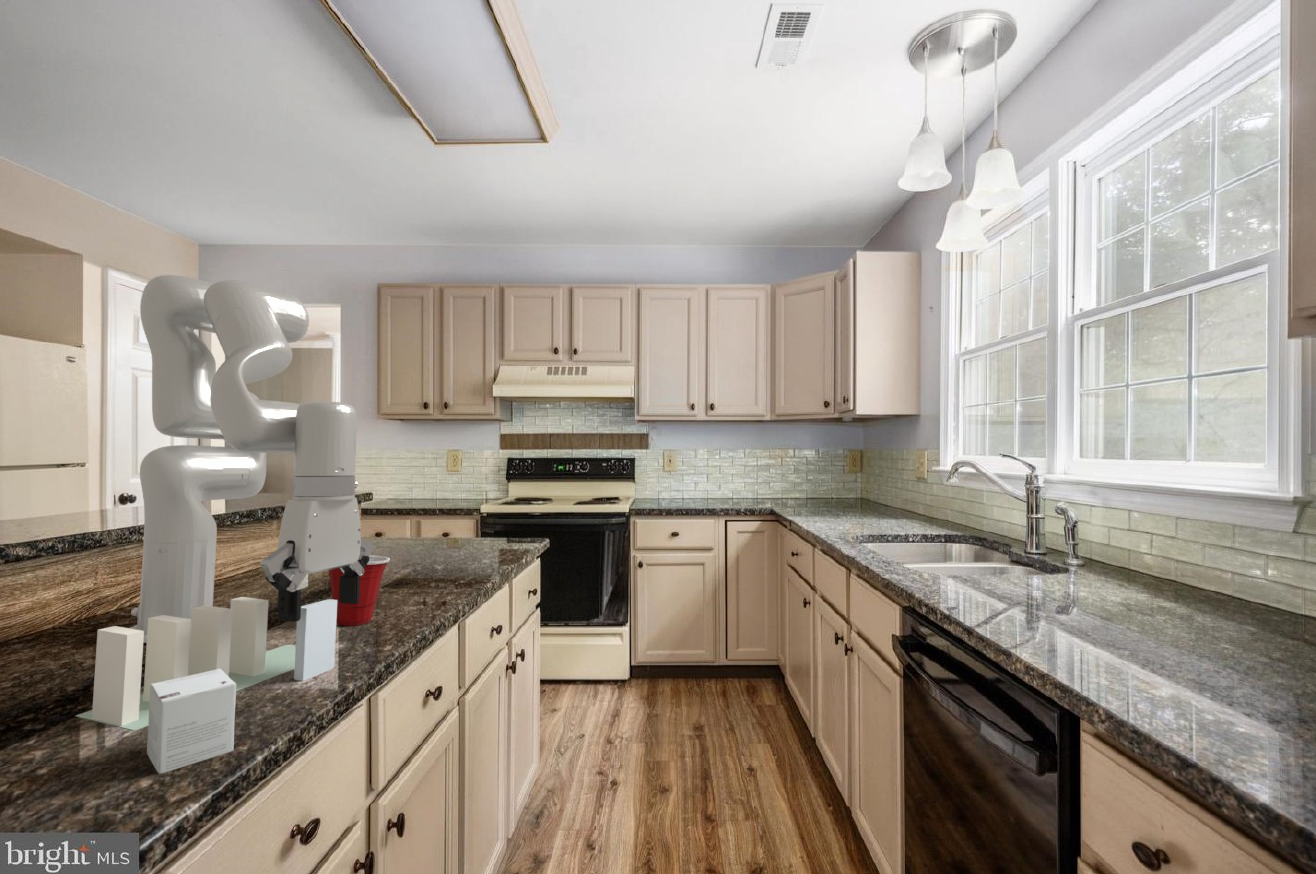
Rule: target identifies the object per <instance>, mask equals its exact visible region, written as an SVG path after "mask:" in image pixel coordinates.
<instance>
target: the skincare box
mask: <svg viewBox="0 0 1316 874" xmlns="http://www.w3.org/2000/svg"><path fill="white" fill-rule="evenodd" d="M236 698H237V691H236V683H235V682H234V681H232V680H231V679H230V678H229V677H228V676H227V675H226V674H225V673H224V672H223V671H222V670H221V669H216V670H212V671H208V672H203V673H199V674H194V675H190V676H185V677H181V678H177V679H172V680H167V681H163V682H158V683H153V684H151V685H150V700H149V722H148V726H147V741H146V743H147V745H146V754H147V756H148V758H149V761H150V762H151V763H152V765H153V766H154V768H155V770H156V772H157V773H158V774H159V775H160V774H163V773H167V772H171V771H173V770H178V769H180V768H184V767H186V766H190V765H192V764H197V763H199V762H203V761H206V760H209V759H212V758H215V757H218V756H221V755H224V754H227V753H230V752H233V751H234V750H235V749H234V746H235V745H234V744H235V719H236V718H235V717H236V716H235V715H236Z"/></svg>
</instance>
